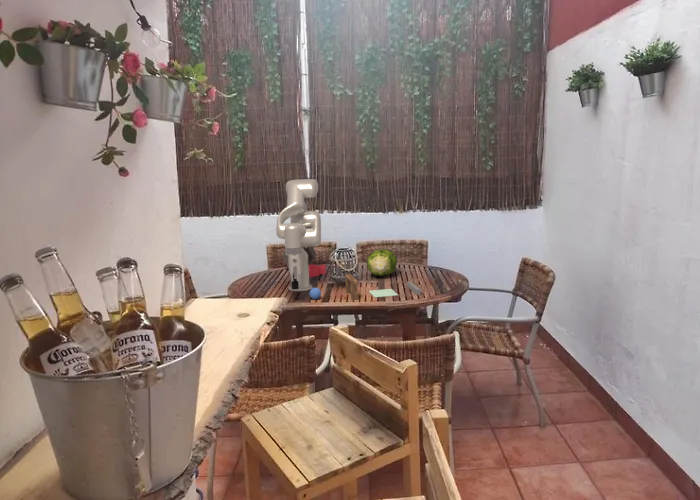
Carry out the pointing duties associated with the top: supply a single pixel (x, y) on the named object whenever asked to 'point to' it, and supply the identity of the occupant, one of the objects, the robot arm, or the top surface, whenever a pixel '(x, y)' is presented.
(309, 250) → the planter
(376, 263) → the lettuce
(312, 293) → the ball
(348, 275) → the bridge
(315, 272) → the tape dispenser
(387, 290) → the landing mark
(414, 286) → the wall
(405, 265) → the top surface
